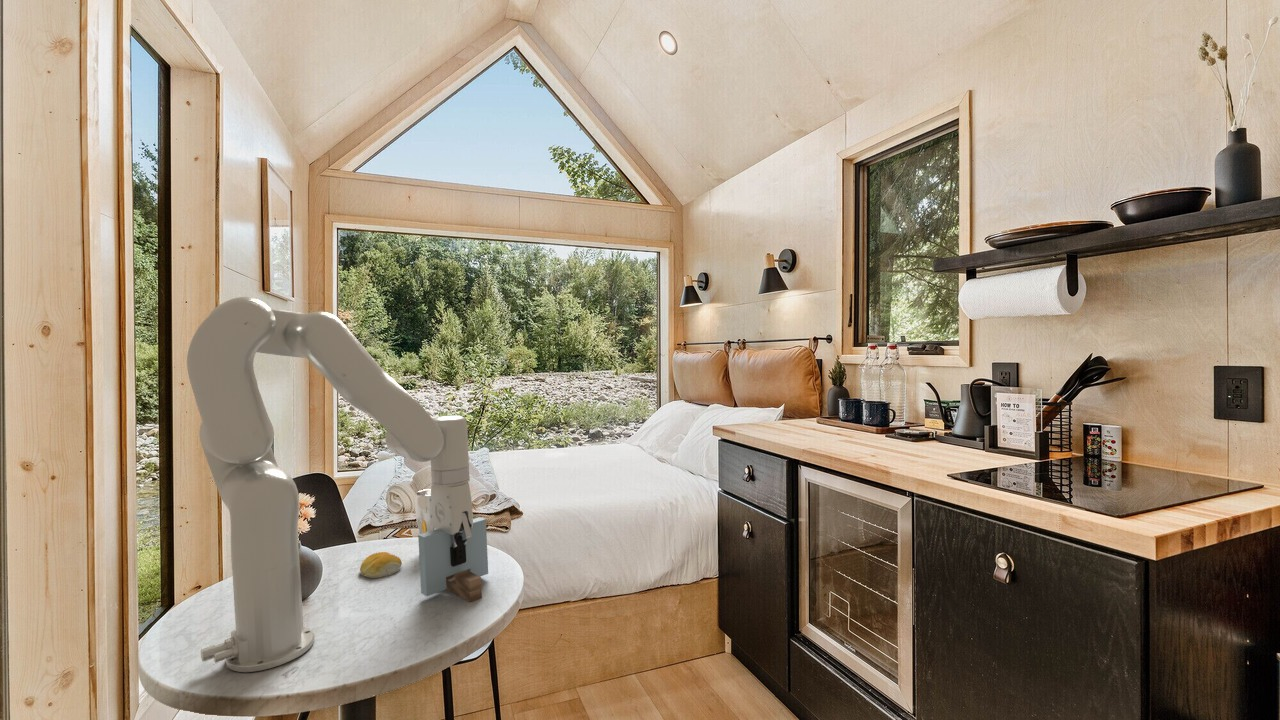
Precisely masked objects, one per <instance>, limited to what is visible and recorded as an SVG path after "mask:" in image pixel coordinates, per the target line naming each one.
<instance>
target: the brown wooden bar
mask: <svg viewBox="0 0 1280 720" xmlns="http://www.w3.org/2000/svg"><path fill="white" fill-rule="evenodd" d="M446 590H448V591H449V592H452V593H454V595H455V594H456V595H457V596H459V597H461V598H462V599H464V600H466V601H468V602H470V603H471V602H474V601H477V600H479V599H482V597H483V592H482V576H481V577H480V576H478V575H476V574H474V573H472V572H470V571H468V570H465V571H462V572H459V573H456V574H454V575H451V576H448V577H446Z"/></svg>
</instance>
